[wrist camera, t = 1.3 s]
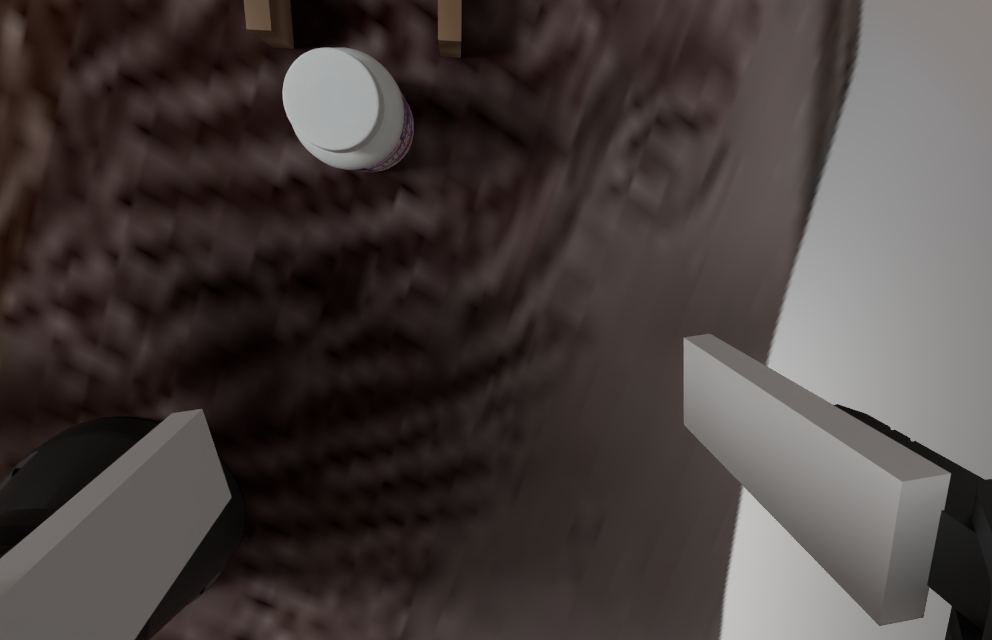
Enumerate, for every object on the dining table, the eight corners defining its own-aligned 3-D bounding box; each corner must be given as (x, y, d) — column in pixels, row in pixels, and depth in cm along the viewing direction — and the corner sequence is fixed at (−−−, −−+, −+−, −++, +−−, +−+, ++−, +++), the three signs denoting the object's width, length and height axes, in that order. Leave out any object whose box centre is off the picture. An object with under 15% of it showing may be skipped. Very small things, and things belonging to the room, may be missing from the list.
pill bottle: (399, 185, 30) (374, 188, 21) (316, 153, 29) (250, 141, 20) (427, 99, 29) (412, 60, 19) (340, 62, 28) (282, 4, 18)
